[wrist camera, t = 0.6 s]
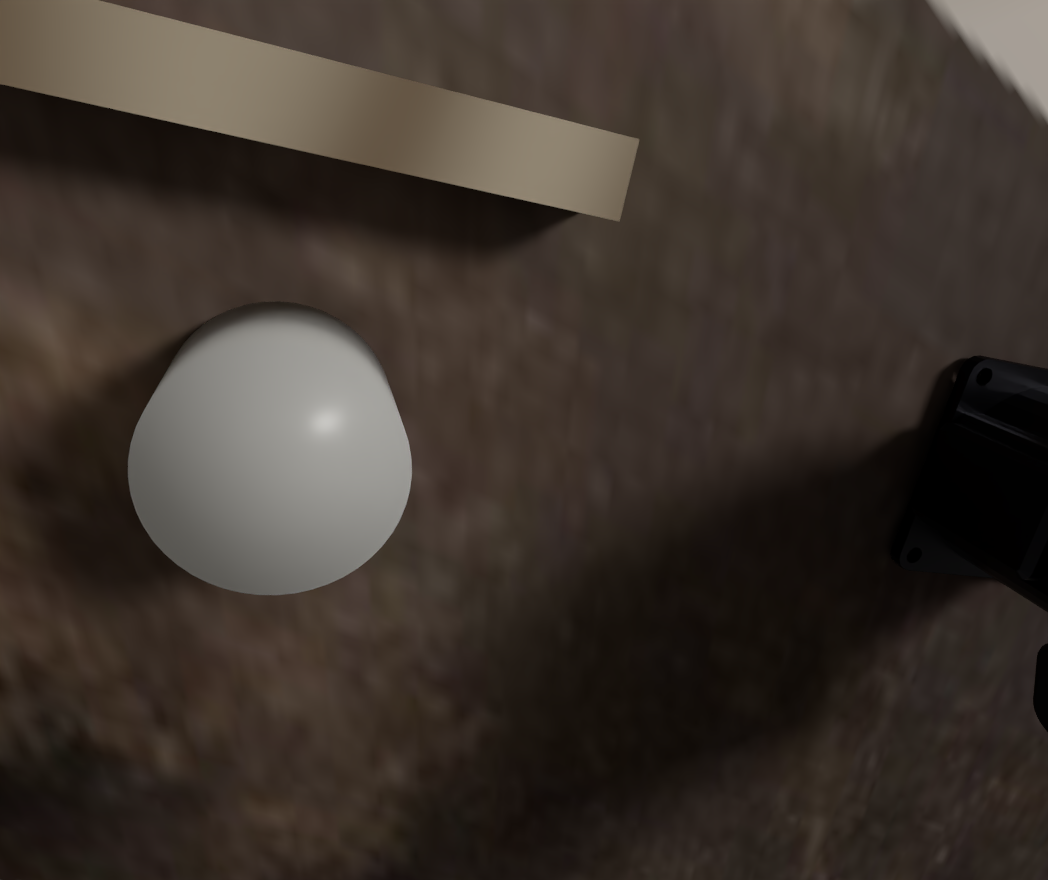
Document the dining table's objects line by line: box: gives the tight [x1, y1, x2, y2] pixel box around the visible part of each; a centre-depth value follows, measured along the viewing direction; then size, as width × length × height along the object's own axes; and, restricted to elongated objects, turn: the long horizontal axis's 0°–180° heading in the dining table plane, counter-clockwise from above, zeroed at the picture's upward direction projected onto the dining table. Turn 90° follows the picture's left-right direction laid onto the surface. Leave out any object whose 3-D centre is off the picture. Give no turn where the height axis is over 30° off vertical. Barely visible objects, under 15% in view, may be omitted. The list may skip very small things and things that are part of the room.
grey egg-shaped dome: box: [128, 301, 412, 595], centre depth 17 cm, size 5×5×4 cm
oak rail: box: [0, 0, 639, 221], centre depth 14 cm, size 22×2×3 cm, turn 78°
